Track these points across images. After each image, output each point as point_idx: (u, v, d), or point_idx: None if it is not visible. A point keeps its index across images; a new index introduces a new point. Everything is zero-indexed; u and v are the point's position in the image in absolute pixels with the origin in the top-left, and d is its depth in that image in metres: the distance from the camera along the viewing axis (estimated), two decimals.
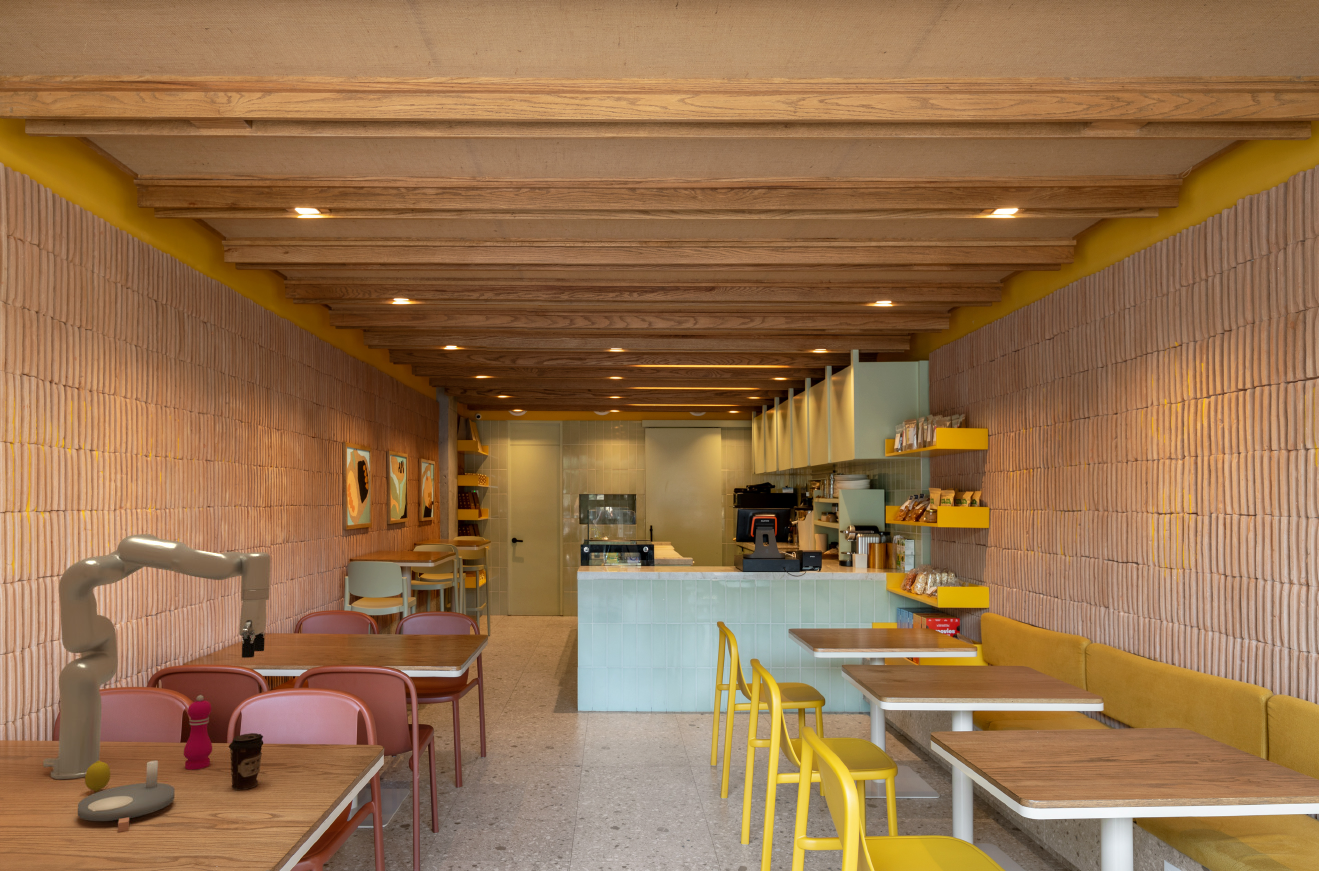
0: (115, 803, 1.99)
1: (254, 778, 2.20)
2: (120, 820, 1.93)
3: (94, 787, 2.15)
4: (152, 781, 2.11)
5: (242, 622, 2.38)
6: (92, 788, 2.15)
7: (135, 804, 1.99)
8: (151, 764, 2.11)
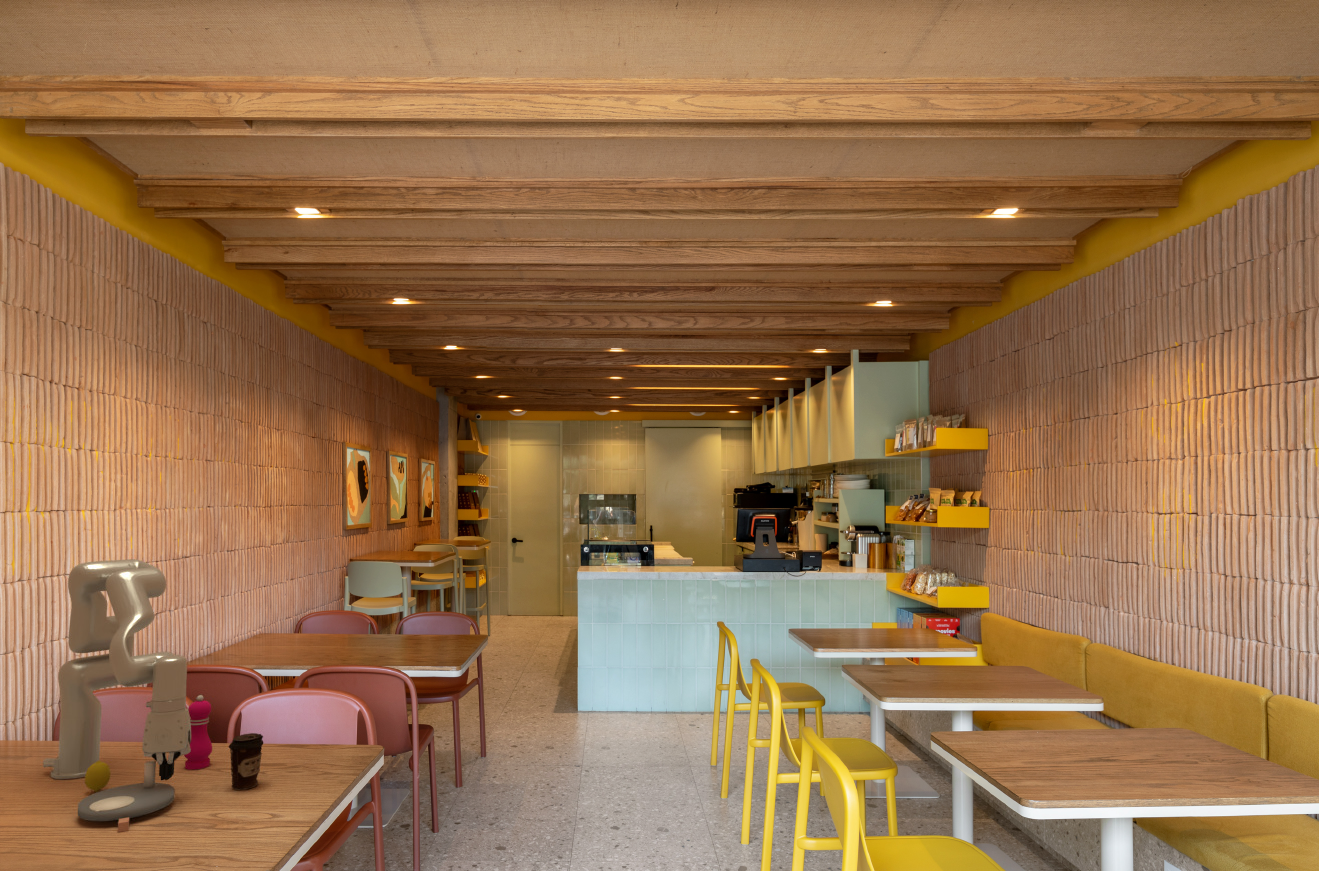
0: (117, 803, 1.99)
1: (254, 778, 2.20)
2: (120, 820, 1.93)
3: (94, 787, 2.15)
4: (150, 781, 2.11)
5: (186, 734, 2.12)
6: (92, 788, 2.15)
7: (137, 803, 1.99)
8: (149, 763, 2.11)
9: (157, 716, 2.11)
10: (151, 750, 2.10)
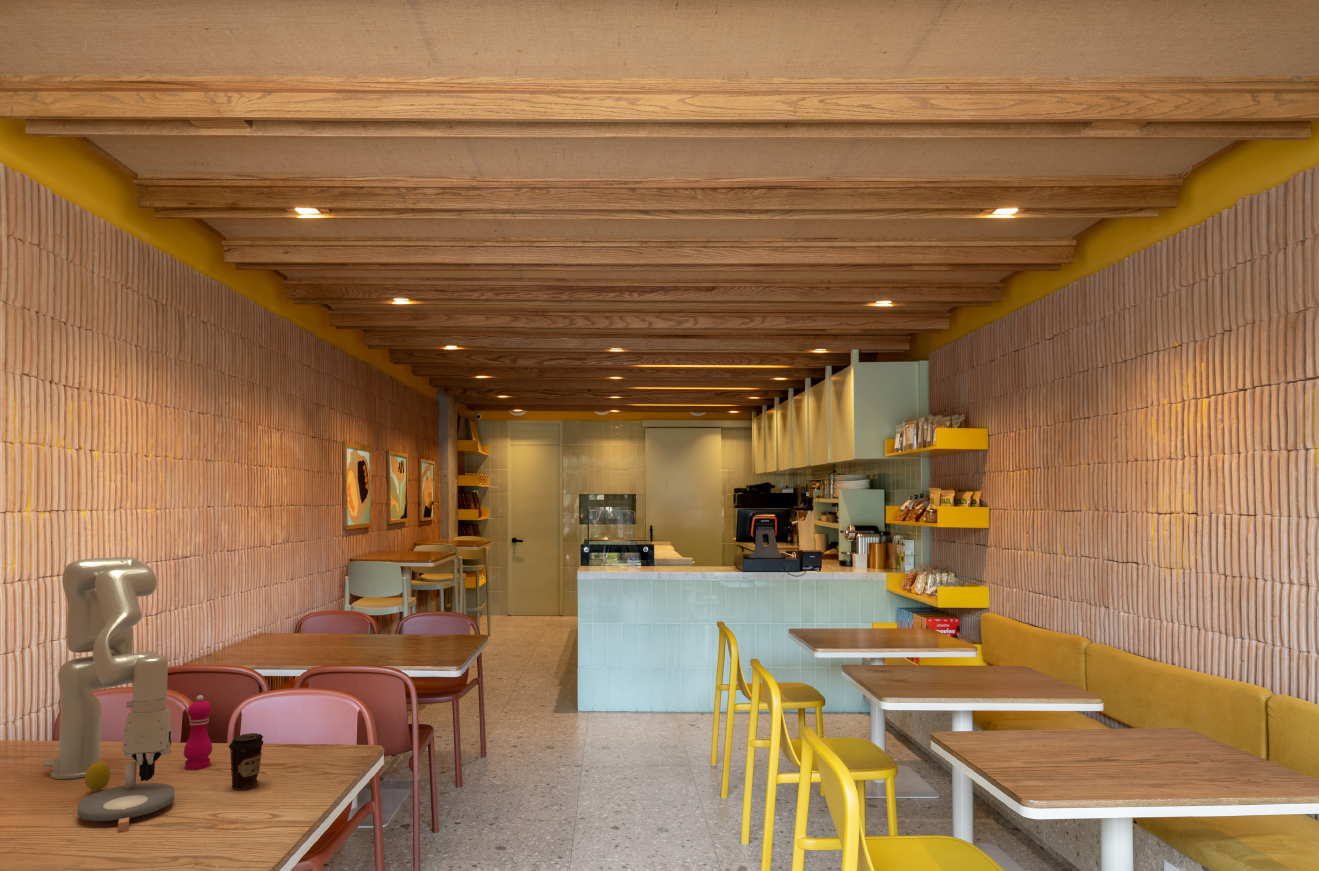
0: (132, 801, 2.00)
1: (254, 778, 2.20)
2: (120, 820, 1.93)
3: (94, 787, 2.15)
4: (134, 781, 2.10)
5: (166, 735, 2.11)
6: (92, 788, 2.15)
7: (155, 797, 2.03)
8: (133, 764, 2.10)
9: (137, 716, 2.10)
10: (130, 751, 2.09)
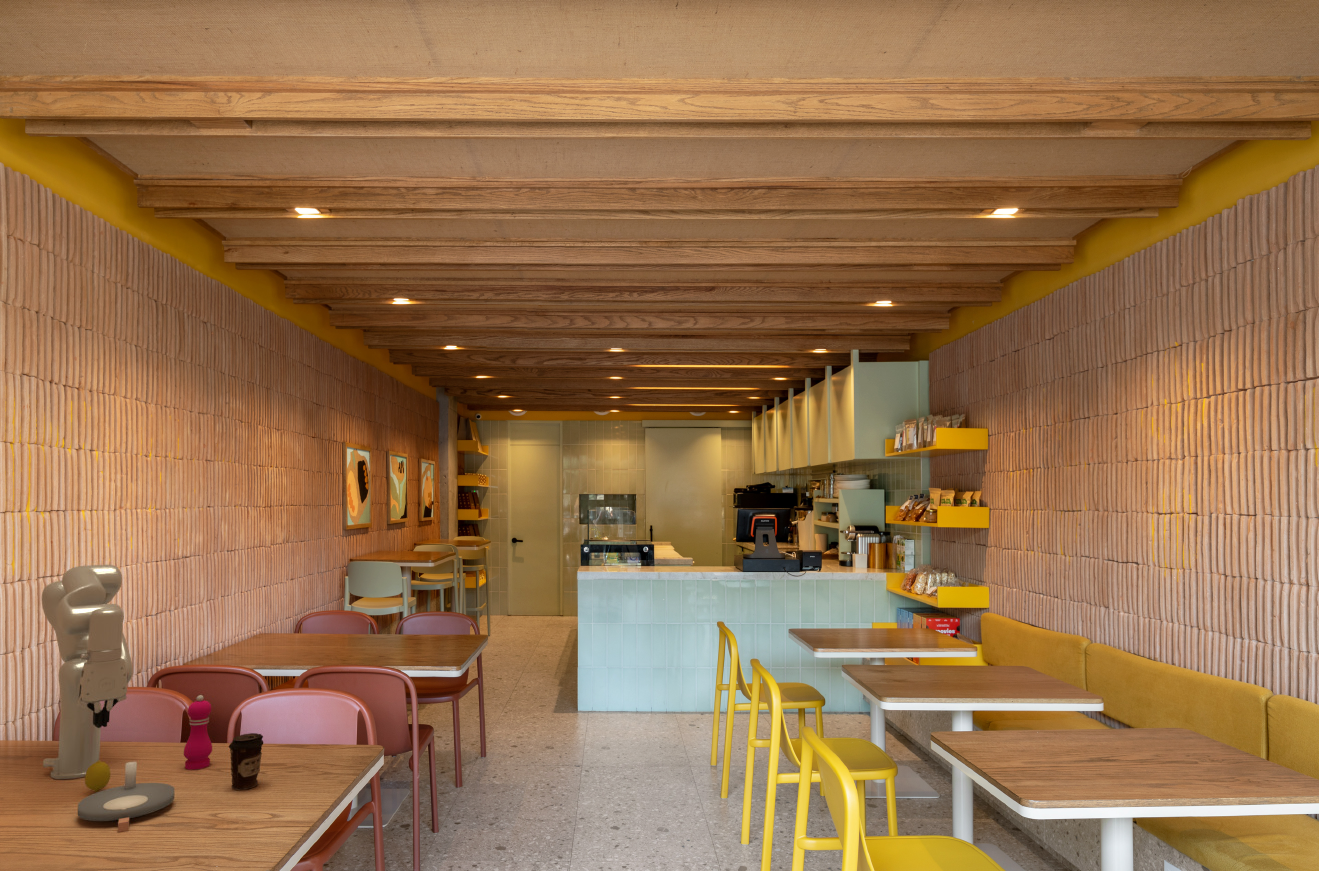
0: (132, 801, 2.00)
1: (254, 778, 2.20)
2: (120, 820, 1.93)
3: (94, 787, 2.15)
4: (134, 781, 2.10)
5: (126, 681, 2.22)
6: (92, 788, 2.15)
7: (155, 797, 2.03)
8: (133, 764, 2.10)
9: (100, 666, 2.17)
10: (93, 699, 2.15)
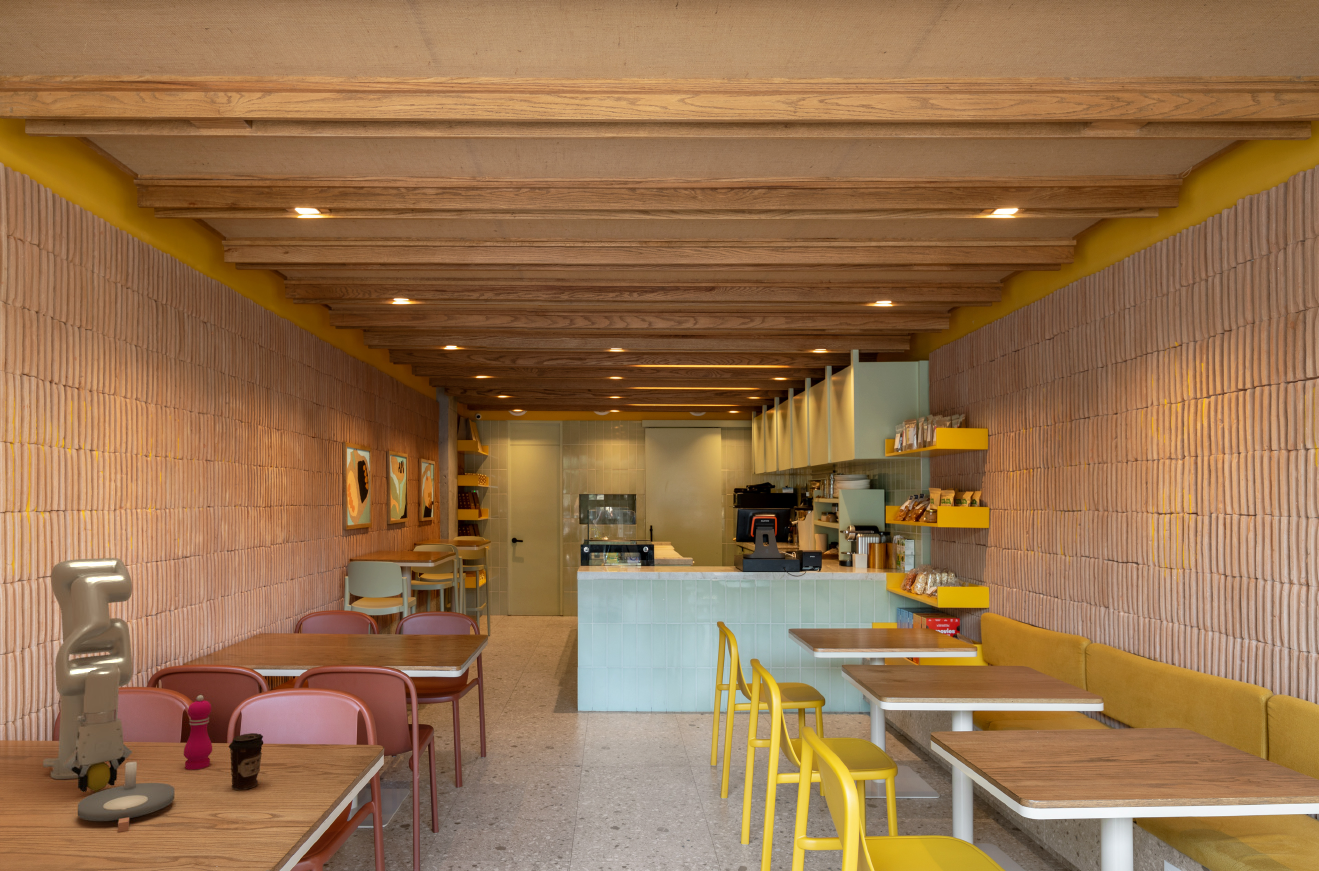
0: (132, 801, 2.00)
1: (254, 778, 2.20)
2: (120, 820, 1.93)
3: (94, 787, 2.15)
4: (134, 781, 2.10)
5: None
6: (92, 788, 2.15)
7: (155, 797, 2.03)
8: (133, 764, 2.10)
9: (96, 728, 2.15)
10: (89, 762, 2.14)
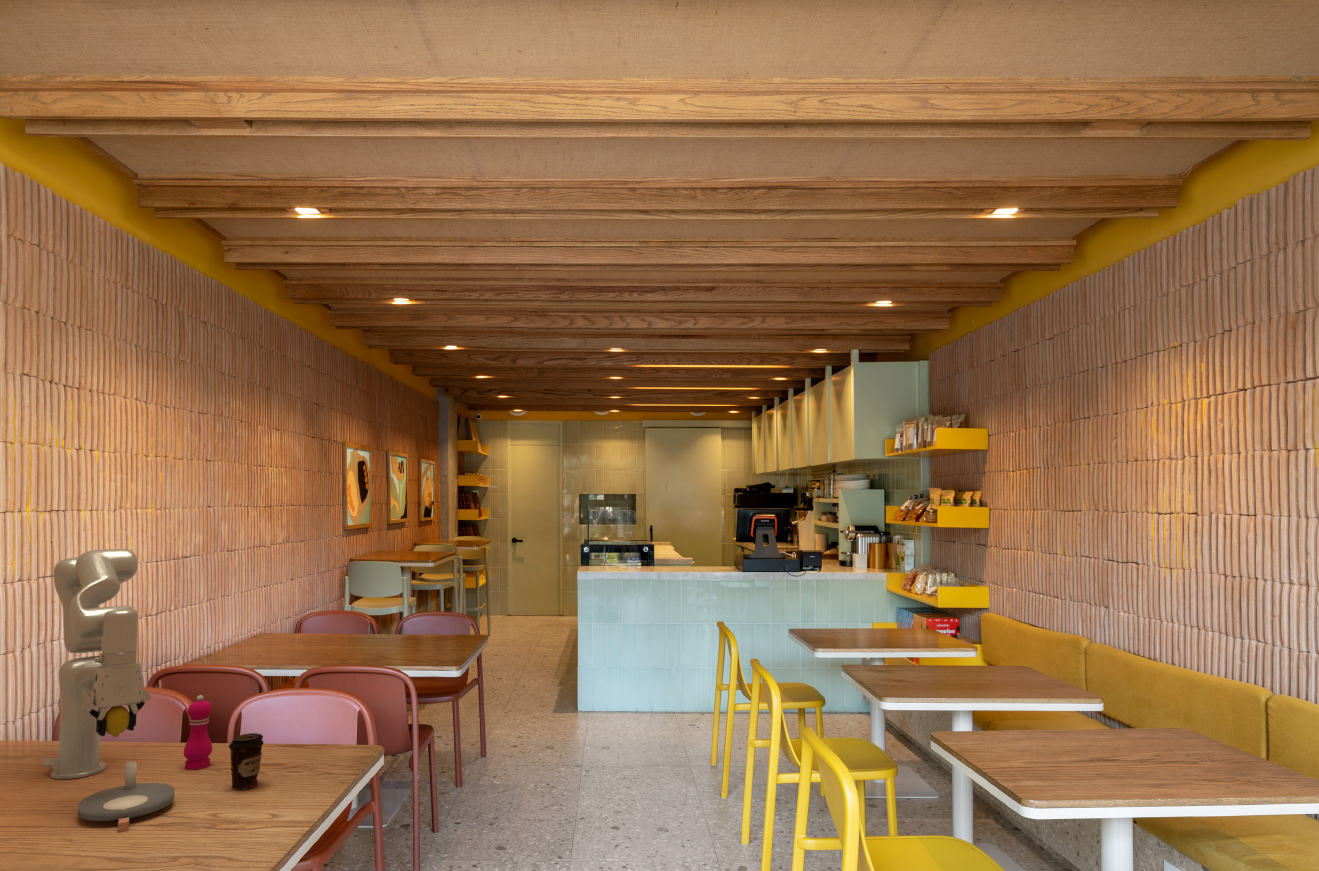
0: (132, 801, 2.00)
1: (254, 778, 2.20)
2: (120, 820, 1.93)
3: (113, 731, 2.06)
4: (134, 781, 2.10)
5: (142, 685, 2.12)
6: (111, 732, 2.06)
7: (155, 797, 2.03)
8: (133, 764, 2.10)
9: (114, 669, 2.07)
10: (108, 704, 2.05)
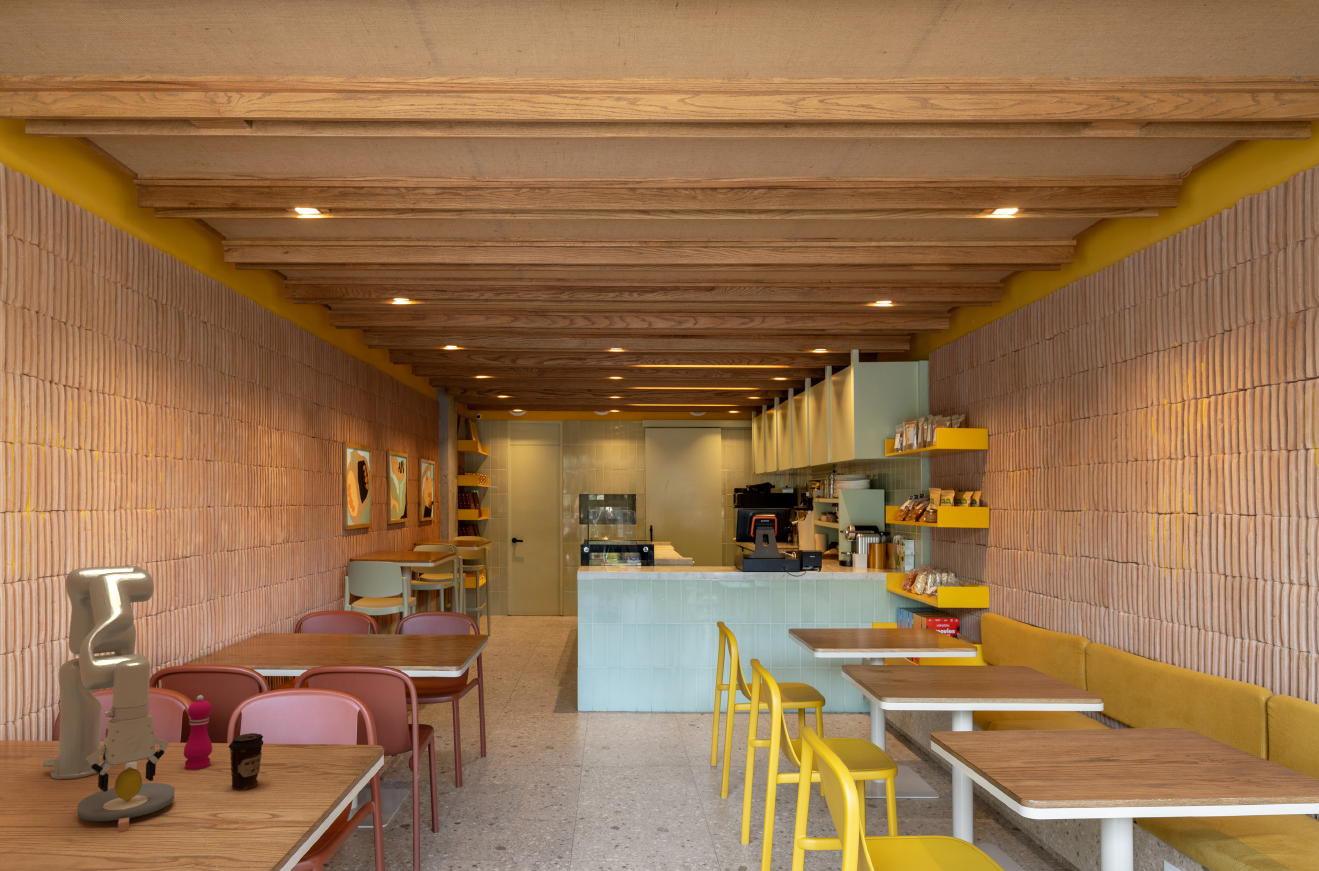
0: (132, 801, 2.00)
1: (254, 778, 2.20)
2: (120, 820, 1.93)
3: (124, 796, 1.98)
4: None
5: None
6: (122, 797, 1.98)
7: (154, 798, 2.03)
8: (133, 764, 2.10)
9: (125, 724, 1.98)
10: (119, 761, 1.97)
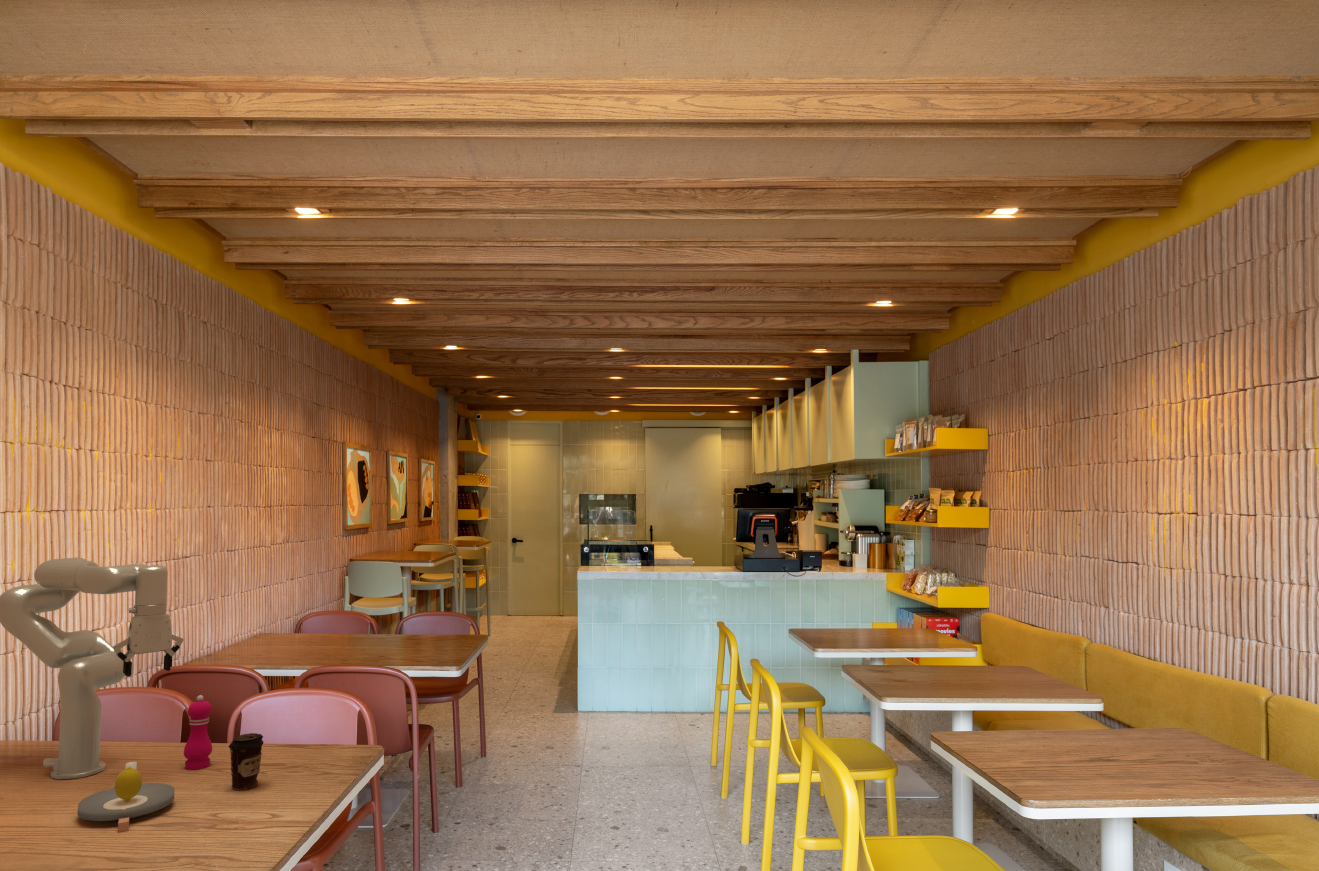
0: (132, 801, 2.00)
1: (254, 778, 2.20)
2: (120, 820, 1.93)
3: (124, 796, 1.98)
4: None
5: None
6: (122, 797, 1.98)
7: (154, 798, 2.03)
8: (133, 764, 2.10)
9: (146, 619, 2.28)
10: (141, 650, 2.27)
